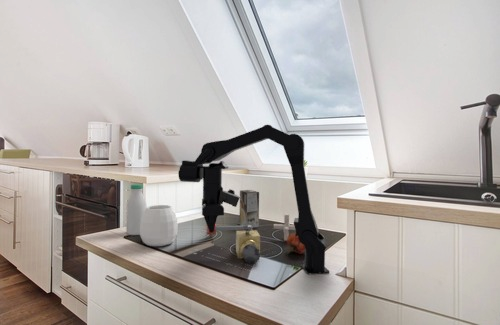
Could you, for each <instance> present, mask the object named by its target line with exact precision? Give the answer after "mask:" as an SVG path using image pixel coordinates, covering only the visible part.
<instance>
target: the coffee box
mask: <svg viewBox="0 0 500 325" xmlns="http://www.w3.org/2000/svg"><path fill="white" fill-rule="evenodd" d="M239 197H240V198H239V225H246V224H249V225H253V229H254V228H259V226H260V225H259V224H260V192H259V191H255V190H252V189H244V190H243V189H242V190H239Z"/></svg>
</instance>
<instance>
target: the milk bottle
mask: <svg viewBox="0 0 500 325" xmlns="http://www.w3.org/2000/svg"><path fill="white" fill-rule="evenodd" d="M143 188H144V185H143V184H141V183H137V184H136V183H135V184H131V185H130V191H131V193H130V195H129V198H128V200H127V204H126V219H125V220H126V224H125V225H126V229H125V230H126V235H129V236H140V222H141V218H142V216H143V213H144V212H145V210H146V208H147V207H148V206H147V201H146V198H145V197H144V194H143V190H144V189H143Z"/></svg>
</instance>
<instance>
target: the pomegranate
mask: <svg viewBox="0 0 500 325" xmlns="http://www.w3.org/2000/svg"><path fill="white" fill-rule="evenodd" d="M295 235H296V232H293V233H290V234H289V236H288V238H287V241H286V244H287V246H288V247H289V249H290V250H289V251H288V252H287V253H286V256H288V255H289V254H290V253H291V252H294V253H296V254H298V255H302V254H305V246H304V245H303V244H302V243H301V242H300V241H299V239H298V236H297V237H296V236H295Z"/></svg>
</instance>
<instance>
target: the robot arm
mask: <svg viewBox="0 0 500 325" xmlns="http://www.w3.org/2000/svg"><path fill="white" fill-rule="evenodd" d="M266 140H270V141H271V142H272V141H273V142H274V143H277V144H278V145H280V146H282V147H283V149H284V153H285V154H286V158H287V160H288V162H289V165H290V168H291V169H290V170H291V174H292V175H291V176H292V181H293V187H294V194H295V199H296V206H297V213H298V217H294V220H293V225H294V226H295V229H296V230H295V233H296V235H295V236H296V237H297V236H298V239H299V241H300V242H301V243H302V244H303V245H304V246H305V252H304V263H300V267H301V268H302V269H303V270H304V271H305V273H306V274H308V275H312V274H313V275H315V274H330V270H329V269H328V268H327V267H326V266H325V265H326V260H325V259H326V249H327V246H326V238H325V237H324V236H323V235H322V234H321V233H320V231H319V227H318V224H317V222H316V219H315V216H314V213H313V212H312V208H311V202H310V195H309V190H308V182H307V177H306V171H305V170H306V169H305V141H304V139H303V138H302V136H300V135H299V134H297V133H291V134H288V133H286V132H284V131H282V130H279V129H277V128H276V127H273V125H270V124H264V125H263V126H261V127H258V128H257V129H254V130H251V131H248V132H245V133H243V134H239V135H237V136H234V137H232V138H230V139H224V140H216V141H210V142H206V143H204V144H203V145H202V148H201V150H200V153H199V155H198V156H197V158H196V159H195V160H181V165H180V166H179V169H178V173H177V174H178V175H177V176H178V179H179V181H180V182H182V183H185V182H186V183H200V181H201V180H202V198H201V215H202V216H203V218H204V220H205V223H206V227H207V226H208V229H209V231H210V233H213V232H214V228H215V223H216V224H217V219H218V217H219V216H224V215H225V208H224V206H223V204H224V203H225V204H228V205H231V206H232V207H234V208H237V206H238V203H239V202H240V195H238V194H235V190H233V189H231V188H230V189H228V190H227V191H226V190H224V188H223V186H222V181H223V180H222V179H223V178H222V177H223V176H222V175H223V172H222V170H226V169H229V166H228V165H227V163H225V161H224V160H222V159H224V158H226V157H228V156H229V155H231V154H232V153H234V152H235V151H238V150H241V149H244V148H247V147H249V146H251V145H252V146H253V145H255V144H258V143H261V142H264V141H266ZM218 161H220V162H219V163H218ZM216 162H217V163H216ZM207 165H208V166H207Z"/></svg>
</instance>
